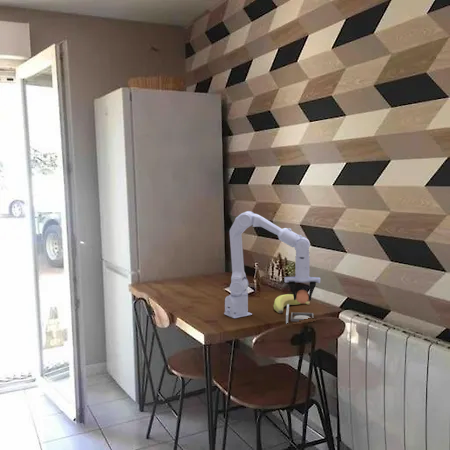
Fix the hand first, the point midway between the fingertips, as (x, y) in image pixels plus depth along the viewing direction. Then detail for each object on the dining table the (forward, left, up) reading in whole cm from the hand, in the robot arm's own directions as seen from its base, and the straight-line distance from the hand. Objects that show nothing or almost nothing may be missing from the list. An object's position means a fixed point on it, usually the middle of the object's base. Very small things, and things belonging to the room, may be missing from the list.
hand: (302, 299), depth 201 cm
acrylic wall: (-5, +4, -8) cm, 10 cm away
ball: (0, 0, +1) cm, 1 cm away
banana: (+7, +15, -8) cm, 18 cm away
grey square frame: (0, 0, -8) cm, 8 cm away
